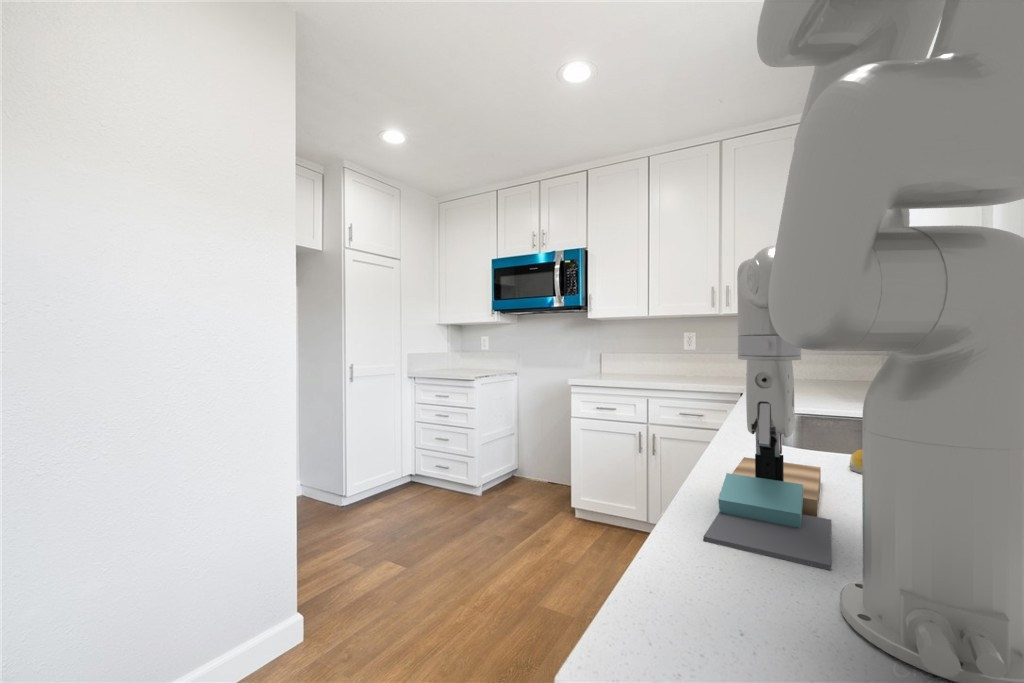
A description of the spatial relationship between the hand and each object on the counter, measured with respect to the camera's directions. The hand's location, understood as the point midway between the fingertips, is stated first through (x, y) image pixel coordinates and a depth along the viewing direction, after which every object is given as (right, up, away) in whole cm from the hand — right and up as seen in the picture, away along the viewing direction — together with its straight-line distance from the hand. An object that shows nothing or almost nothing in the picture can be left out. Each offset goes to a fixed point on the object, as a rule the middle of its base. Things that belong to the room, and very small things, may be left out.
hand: (769, 483), depth 63 cm
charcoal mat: (-4, -4, -7) cm, 9 cm away
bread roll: (+28, -4, +16) cm, 33 cm away
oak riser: (+5, -3, +7) cm, 9 cm away
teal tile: (-3, -1, -3) cm, 4 cm away
